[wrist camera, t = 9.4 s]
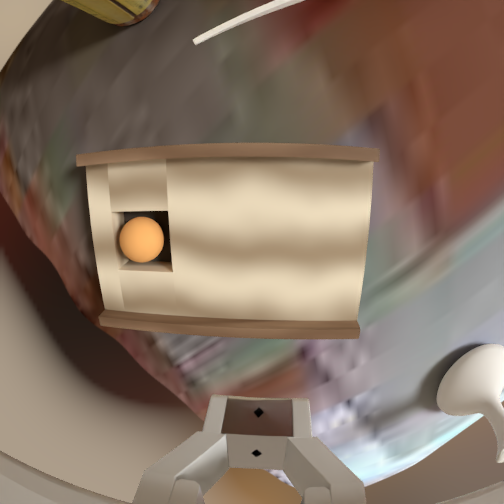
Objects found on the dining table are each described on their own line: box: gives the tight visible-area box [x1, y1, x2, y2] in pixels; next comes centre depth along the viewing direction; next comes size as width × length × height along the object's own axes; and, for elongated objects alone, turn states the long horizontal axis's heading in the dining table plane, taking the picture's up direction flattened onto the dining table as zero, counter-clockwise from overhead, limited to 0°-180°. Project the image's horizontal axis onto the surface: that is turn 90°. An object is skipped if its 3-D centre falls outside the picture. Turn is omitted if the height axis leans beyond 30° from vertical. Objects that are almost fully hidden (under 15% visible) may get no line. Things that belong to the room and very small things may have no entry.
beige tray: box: [76, 143, 380, 339], centre depth 27 cm, size 16×24×4 cm, turn 90°
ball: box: [120, 217, 164, 263], centre depth 27 cm, size 4×4×4 cm
